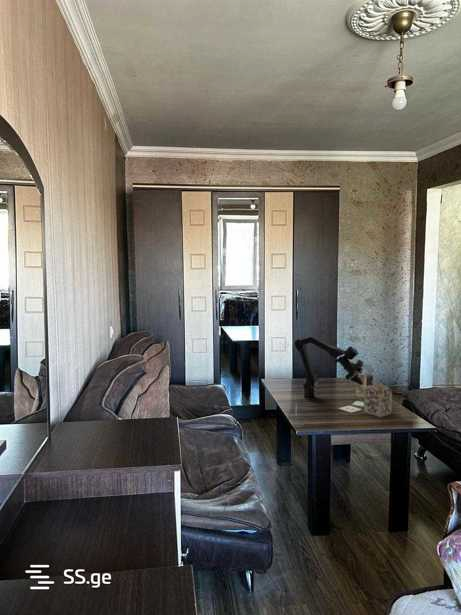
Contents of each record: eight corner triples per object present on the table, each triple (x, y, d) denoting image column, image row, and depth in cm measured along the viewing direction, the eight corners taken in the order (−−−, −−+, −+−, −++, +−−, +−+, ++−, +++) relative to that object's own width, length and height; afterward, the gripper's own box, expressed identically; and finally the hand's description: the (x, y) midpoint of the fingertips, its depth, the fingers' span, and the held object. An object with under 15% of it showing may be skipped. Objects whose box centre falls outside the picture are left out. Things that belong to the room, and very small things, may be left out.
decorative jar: (363, 412, 267) (363, 382, 265) (374, 409, 274) (375, 379, 272) (380, 417, 257) (381, 386, 256) (392, 413, 264) (393, 383, 263)
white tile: (338, 408, 275) (338, 408, 275) (349, 406, 280) (349, 405, 280) (351, 412, 266) (351, 412, 266) (362, 409, 272) (362, 409, 272)
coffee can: (372, 394, 308) (372, 373, 307) (373, 398, 298) (374, 377, 297) (356, 393, 310) (356, 373, 309) (357, 397, 300) (357, 376, 299)
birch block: (356, 393, 282) (356, 374, 281) (358, 391, 286) (358, 373, 285) (364, 394, 279) (364, 375, 278) (366, 393, 284) (366, 374, 283)
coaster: (351, 405, 282) (351, 404, 282) (356, 401, 290) (356, 401, 290) (366, 407, 277) (366, 406, 277) (370, 403, 285) (370, 403, 285)
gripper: (350, 358, 275) (368, 378, 270) (360, 354, 291) (377, 373, 286) (338, 370, 280) (355, 390, 275) (347, 364, 296) (364, 383, 291)
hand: (363, 383), depth 282 cm, fingers closed on birch block, 5 cm apart
